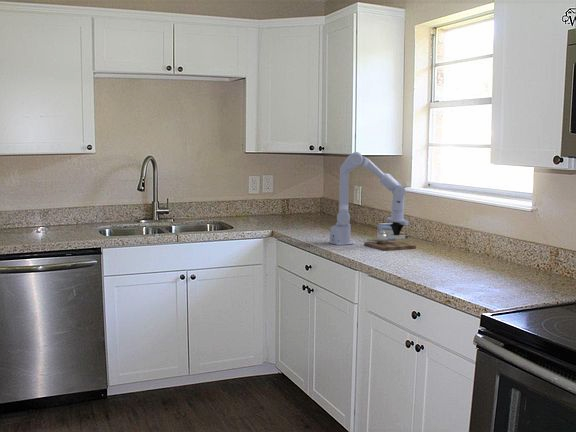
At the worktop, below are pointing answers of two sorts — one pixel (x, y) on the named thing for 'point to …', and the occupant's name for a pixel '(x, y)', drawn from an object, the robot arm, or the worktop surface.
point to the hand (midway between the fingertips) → (396, 238)
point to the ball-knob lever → (388, 237)
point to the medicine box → (385, 229)
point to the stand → (390, 245)
